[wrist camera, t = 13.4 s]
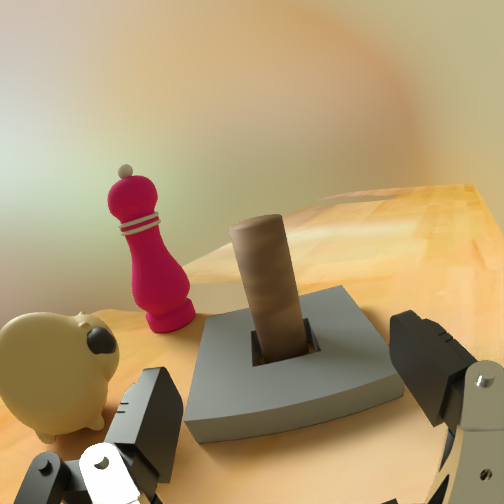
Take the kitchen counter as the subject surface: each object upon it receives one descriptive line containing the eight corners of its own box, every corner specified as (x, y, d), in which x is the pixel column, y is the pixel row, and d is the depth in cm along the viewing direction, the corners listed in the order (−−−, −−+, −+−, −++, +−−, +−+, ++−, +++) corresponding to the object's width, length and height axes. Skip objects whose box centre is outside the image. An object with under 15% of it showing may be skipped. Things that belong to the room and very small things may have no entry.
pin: (268, 383, 21) (227, 234, 18) (265, 357, 24) (229, 223, 21) (314, 373, 21) (285, 220, 17) (305, 347, 24) (278, 211, 21)
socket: (197, 443, 16) (183, 420, 15) (213, 337, 29) (206, 317, 29) (402, 395, 16) (405, 369, 15) (343, 306, 29) (341, 285, 28)
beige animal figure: (164, 410, 20) (105, 292, 17) (50, 477, 12) (-39, 366, 9) (120, 367, 27) (78, 275, 24) (34, 416, 19) (-22, 325, 16)
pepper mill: (137, 327, 35) (87, 178, 30) (178, 303, 40) (136, 165, 35) (166, 341, 31) (107, 163, 25) (210, 311, 36) (164, 150, 30)
